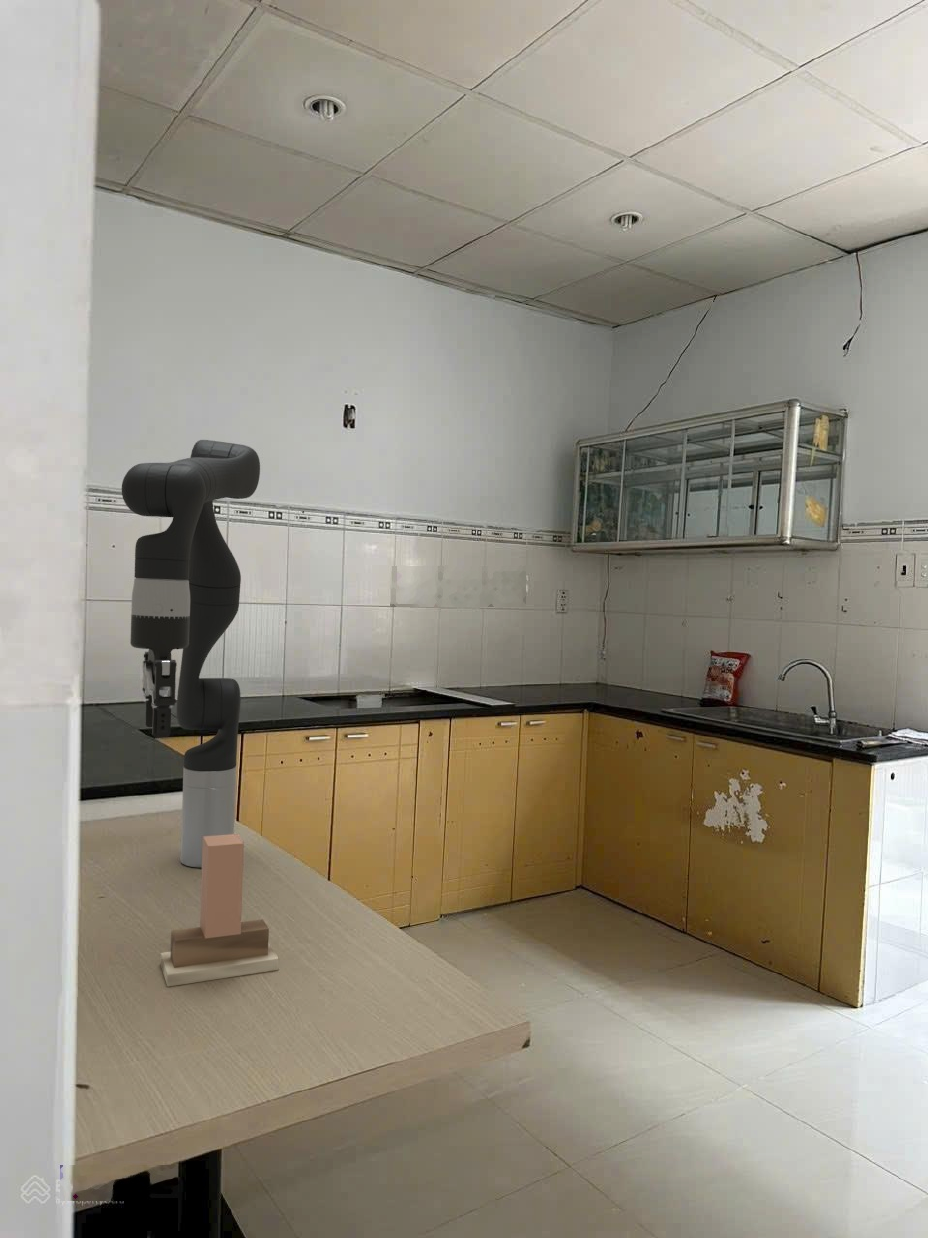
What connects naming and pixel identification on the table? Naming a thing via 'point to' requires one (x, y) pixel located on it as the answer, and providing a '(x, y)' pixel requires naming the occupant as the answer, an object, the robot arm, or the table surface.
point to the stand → (218, 954)
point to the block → (221, 885)
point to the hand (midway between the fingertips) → (157, 731)
